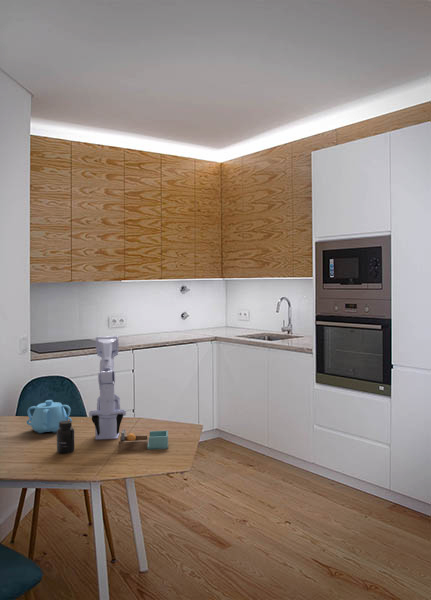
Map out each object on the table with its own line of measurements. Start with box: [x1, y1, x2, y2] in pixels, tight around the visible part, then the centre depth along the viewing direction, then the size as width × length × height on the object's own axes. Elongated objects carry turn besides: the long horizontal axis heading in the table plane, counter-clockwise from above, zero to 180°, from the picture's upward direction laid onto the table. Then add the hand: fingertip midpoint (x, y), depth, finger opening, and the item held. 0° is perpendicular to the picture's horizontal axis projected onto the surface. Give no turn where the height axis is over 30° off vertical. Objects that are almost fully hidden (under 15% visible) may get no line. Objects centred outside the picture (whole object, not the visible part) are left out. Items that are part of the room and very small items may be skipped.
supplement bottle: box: [56, 419, 75, 455], centre depth 206 cm, size 7×7×12 cm
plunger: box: [120, 429, 127, 441], centre depth 210 cm, size 1×5×4 cm, turn 4°
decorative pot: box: [26, 399, 73, 434], centre depth 236 cm, size 16×16×14 cm
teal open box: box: [147, 430, 169, 451], centre depth 211 cm, size 8×8×5 cm
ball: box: [126, 433, 136, 441], centre depth 211 cm, size 4×4×4 cm
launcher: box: [117, 434, 149, 452], centre depth 211 cm, size 11×8×4 cm
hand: (108, 433), depth 210 cm, fingers open, 7 cm apart
